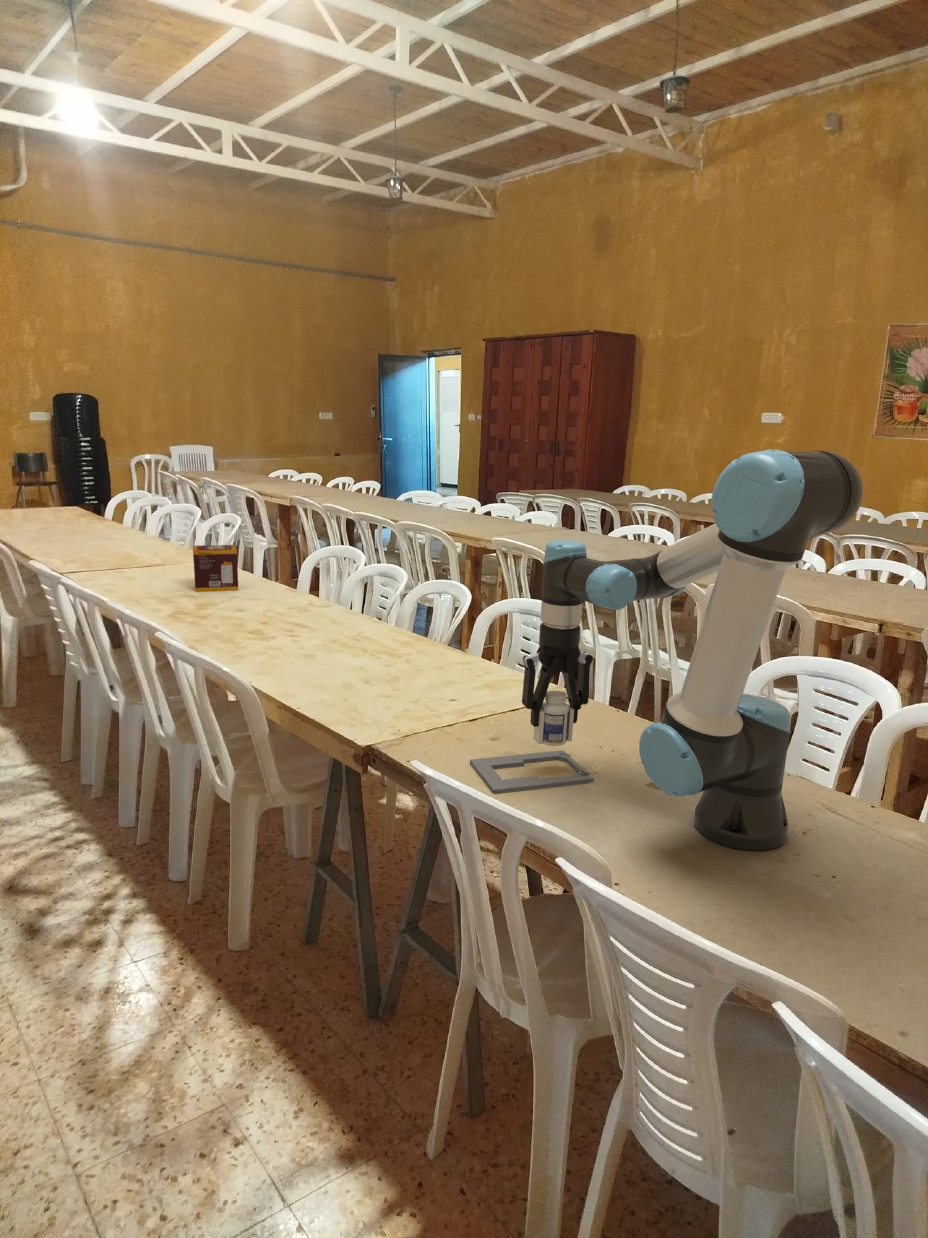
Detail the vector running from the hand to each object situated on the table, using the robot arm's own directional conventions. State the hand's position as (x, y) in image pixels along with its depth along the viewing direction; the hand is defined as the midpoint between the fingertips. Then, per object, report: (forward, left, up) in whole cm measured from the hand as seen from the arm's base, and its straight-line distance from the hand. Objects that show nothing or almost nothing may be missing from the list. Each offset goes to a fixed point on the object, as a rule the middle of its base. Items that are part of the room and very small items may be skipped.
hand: (552, 739), depth 164 cm
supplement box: (+182, +56, -7) cm, 190 cm away
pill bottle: (0, 0, -1) cm, 1 cm away
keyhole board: (0, +4, -6) cm, 8 cm away
